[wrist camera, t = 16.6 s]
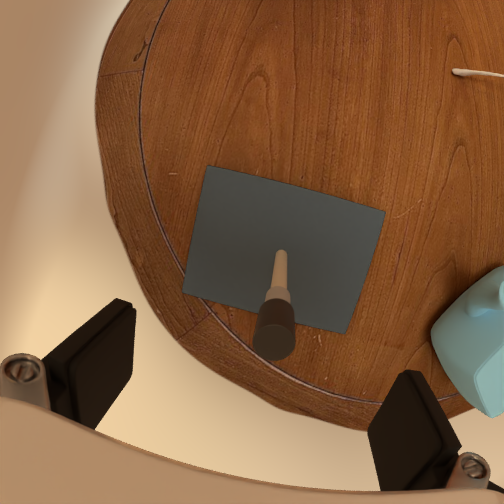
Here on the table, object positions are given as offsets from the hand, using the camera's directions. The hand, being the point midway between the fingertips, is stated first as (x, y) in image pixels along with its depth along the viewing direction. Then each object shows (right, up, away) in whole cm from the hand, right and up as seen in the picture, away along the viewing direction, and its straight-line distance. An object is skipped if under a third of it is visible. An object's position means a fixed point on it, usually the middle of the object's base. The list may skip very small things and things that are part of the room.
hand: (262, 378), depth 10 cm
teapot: (+23, -2, +18) cm, 29 cm away
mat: (+2, +4, +19) cm, 19 cm away
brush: (+2, +4, +18) cm, 19 cm away
